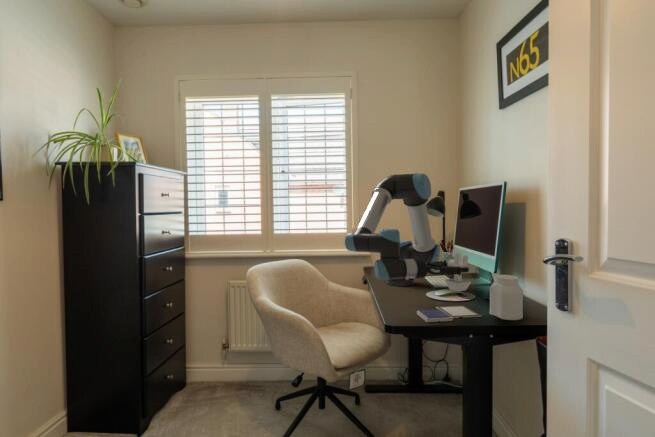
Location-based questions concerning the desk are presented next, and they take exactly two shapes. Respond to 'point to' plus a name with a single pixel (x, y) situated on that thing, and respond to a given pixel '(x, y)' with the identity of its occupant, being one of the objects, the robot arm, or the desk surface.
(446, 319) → the ink pad
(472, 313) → the card sheet
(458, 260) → the figurine
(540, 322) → the desk surface
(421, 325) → the desk surface
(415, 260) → the robot arm
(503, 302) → the jar
